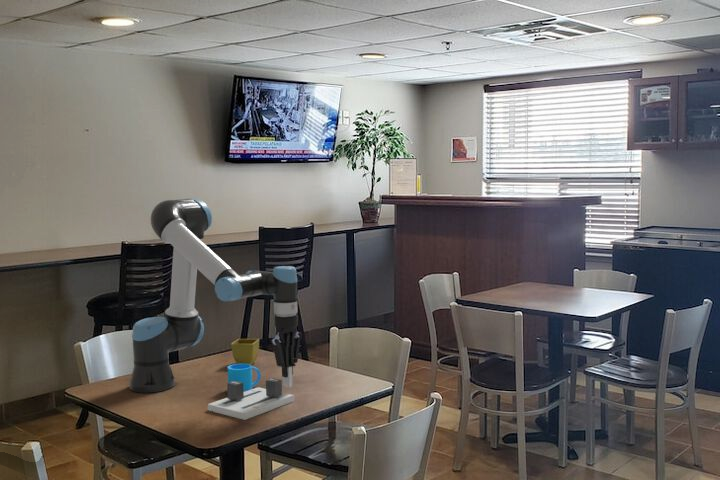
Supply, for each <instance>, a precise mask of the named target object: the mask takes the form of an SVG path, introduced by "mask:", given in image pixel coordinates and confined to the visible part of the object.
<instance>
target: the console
mask: <svg viewBox="0 0 720 480" xmlns="http://www.w3.org/2000/svg"><path fill="white" fill-rule="evenodd" d="M294 402H295V395H294V394H291V393H286V392H282V396H279V397H277V398H274V397H269V396H266V388H263V387H260V386H259V387H258V386H257V387H255V388H253V389H251V390H248V391H245V392H244V398H243V399H241V400H238V401H235V400H231V399H228V396H227V397H225V398H222V399H219V400H216V401H213V402H210V403H208V404H207V411H210V412H212V411H213V413H217V414H219V415H220V414H221V415H225V416H227V417H232V418H236V419H240V420H244V421H246V420H249V419H251V418H253V417H256V416H258V415H262V414H264V413H266V412H269V411H272V410H275V409H278V408H279V407H282V406H285V405H288V404H291V403H294Z"/></svg>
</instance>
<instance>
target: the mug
mask: <svg viewBox="0 0 720 480" xmlns="http://www.w3.org/2000/svg"><path fill="white" fill-rule="evenodd" d="M253 370H255V372H256V373H257V378H256V380H255V381H254V382H253ZM261 375H262V374H261V370H259V368H257V367H256V366H253V364H252V365H250V364H237V363H234V364H230V365H228V366H227V383H229V382H232V381H237V382H242V383H243V391H244V392H245V391H248V390H251V389H254V388H253V387H254V386H256V385H257V384H258V383H259V381H260V380H261V377H262V376H261Z"/></svg>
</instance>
